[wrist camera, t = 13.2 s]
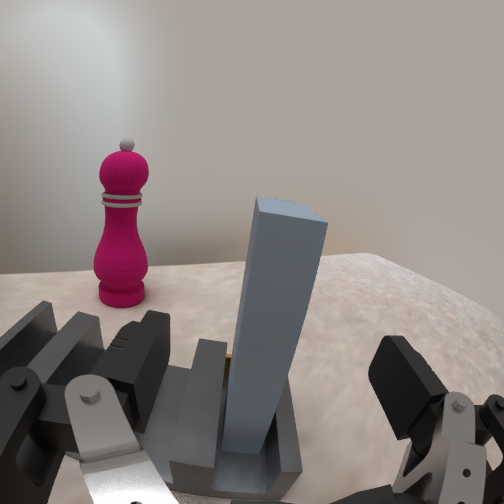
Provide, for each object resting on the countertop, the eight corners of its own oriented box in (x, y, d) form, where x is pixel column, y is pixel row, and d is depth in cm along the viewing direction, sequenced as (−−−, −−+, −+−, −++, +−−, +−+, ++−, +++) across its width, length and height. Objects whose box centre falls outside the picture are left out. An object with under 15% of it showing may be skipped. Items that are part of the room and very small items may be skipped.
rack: (-4, 412, 10) (-30, 366, 9) (55, 340, 21) (45, 298, 20) (280, 499, 12) (303, 471, 10) (271, 387, 22) (283, 345, 21)
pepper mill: (148, 285, 37) (158, 141, 31) (147, 311, 31) (157, 137, 25) (101, 282, 35) (105, 138, 29) (91, 308, 29) (91, 135, 23)
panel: (220, 450, 14) (259, 211, 9) (225, 398, 19) (256, 195, 14) (259, 454, 14) (328, 222, 10) (257, 402, 19) (302, 203, 14)
